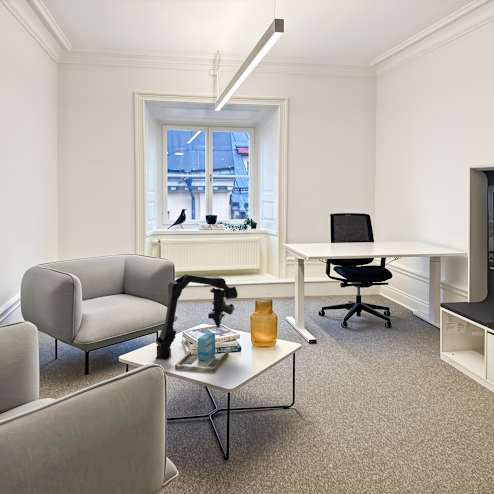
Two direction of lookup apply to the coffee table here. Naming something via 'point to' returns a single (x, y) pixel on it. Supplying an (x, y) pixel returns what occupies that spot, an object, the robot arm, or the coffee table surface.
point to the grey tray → (196, 368)
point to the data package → (206, 346)
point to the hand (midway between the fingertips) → (218, 327)
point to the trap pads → (192, 359)
